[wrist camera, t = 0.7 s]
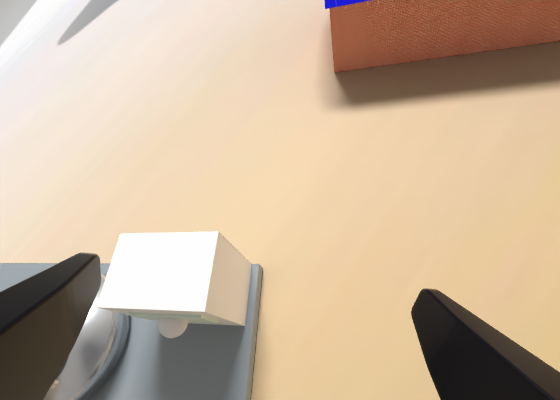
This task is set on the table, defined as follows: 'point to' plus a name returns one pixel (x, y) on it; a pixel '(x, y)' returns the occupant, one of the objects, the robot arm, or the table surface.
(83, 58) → the table surface
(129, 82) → the table surface
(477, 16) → the house
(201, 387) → the stand
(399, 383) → the table surface
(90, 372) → the crank handle
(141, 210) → the table surface
